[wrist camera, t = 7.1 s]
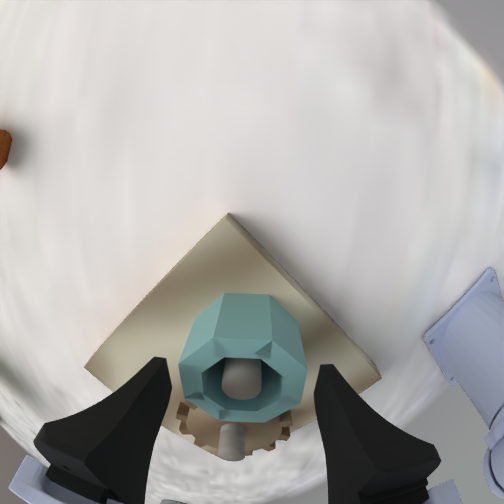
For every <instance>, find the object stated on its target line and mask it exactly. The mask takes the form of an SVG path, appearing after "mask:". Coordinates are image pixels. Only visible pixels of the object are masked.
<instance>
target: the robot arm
mask: <svg viewBox="0 0 504 504" xmlns="http://www.w3.org/2000/svg"><path fill="white" fill-rule="evenodd" d="M423 340H424V342H425V343H426V345H427V346H428V348H429V350H430V351H431V353H432V355H433V356H434V358H435V360H436V362H437V363H438V365H439V367H440V368H441V370H442V372H443V374H444V376H445V377H446V379H447V381H448V383H449V384H450V386H454V385H455V384H456V383H459V384H460V386H461V387H462V389H463V390H464V392H465V393H466V394H467V396H468V397H469V398H470V400H471V402H472V403H473V405H474V406H475V408H476V409H477V411H478V412H479V414H480V415H481V417H482V419H483V420H484V422H485V423H486V425H487V426H488V428H489V430H490V431H489V433H488V434H487V436H486V437H485V438H484V439H485V441H486V443H487V445H488V449H487V451H486V454H485V457H484V465H483V469H484V475H485V480H486V482H487V484H488V486H489V488H490V490H491V491H492V492H493V493H494V494H495V495H496V496H497V497H499V498H501V499H504V300H503V299H502V297H501V293H500V288H499V284H498V280H497V277H496V273H495V270H494V269H493V268H491V267H490V268H488V269H487V270H486V271H485V273H484V274H483V275H482V276H481V277H480V278H479V280H478V281H477V282H476V283H475V284H474V285H473V286H472V287H471V289H470V290H469V291H468V292H467V293H466V294H465V295H464V296H463V297H462V298H461V299H460V300H459V301H458V302H457V303H456V304H455V305H454V306H453V307H452V308H451V309H450V310H449V311H448V312H447V313H446V314H445V315H444V316H443V317H442V318H441V319H440V320H439V321H438V322H437V323H436V324H435V325H434V326H433V327H432V328H430V329H429V330H428V331H427V332H426V333H425V335H424V337H423ZM171 392H172V383H171V379H170V374H169V369H168V364H167V359H166V358H162V357H155V356H154V357H153V358H152V359H151V360H150V361H149V362H148V363H147V364H146V365H145V366H144V367H143V368H141V369H140V370H139V371H138V372H137V373H136V374H135V375H134V376H133V377H132V378H130V379H129V380H128V381H127V382H126V383H125V384H124V385H122V386H121V387H120V388H118V389H117V390H116V391H115V392H113V393H112V394H111V395H109V396H108V397H106V398H105V399H103V400H102V401H100V402H98V403H97V404H95V405H93V406H91V407H89V408H87V409H85V410H83V411H81V412H79V413H76V414H74V415H71V416H68V417H66V418H63V419H59V420H56V421H52V422H48V423H45V424H44V425H43V427H42V428H41V430H40V431H39V433H38V434H37V436H36V438H35V439H34V442H33V443H34V445H35V447H36V448H37V450H38V451H39V452H40V453H41V454H42V455H43V456H44V458H45V459H46V460H47V461H48V462H49V463H50V464H51V465H50V467H49V468H48V467H46V466H45V465H43V464H42V463H40V462H38V461H37V460H35V459H33V458H32V457H30V456H28V455H26V457H25V459H24V460H23V462H22V464H21V466H20V467H19V469H18V471H17V473H16V475H15V476H14V478H13V480H12V482H11V484H10V486H9V489H10V490H11V491H12V492H14V493H15V494H16V495H18V496H19V497H20V498H22V499H23V500H24V501H26V502H27V503H28V504H144V503H145V492H146V484H147V477H148V471H149V466H150V460H151V456H152V451H153V447H154V443H155V440H156V437H157V435H158V432H159V429H160V426H161V424H162V421H163V418H164V416H165V413H166V410H167V408H168V405H169V401H170V396H171ZM313 394H314V404H315V412H316V416H317V420H318V425H319V429H320V433H321V437H322V441H323V445H324V450H325V457H326V466H327V479H328V504H463V503H462V500H461V498H460V495H459V493H458V490H457V488H456V486H455V483H454V481H453V480H452V479H450V480H448V481H446V482H444V483H442V484H439V485H437V486H435V487H433V488H431V489H429V490H428V491H427V489H426V486H427V485H428V481H427V477H428V476H429V475H430V474H431V473H432V472H433V471H434V470H435V469H436V468H437V467H438V466H439V464H440V462H441V459H440V457H439V454H438V452H437V450H436V448H435V446H434V445H433V444H430V443H428V442H425V441H422V440H420V439H418V438H416V437H414V436H412V435H410V434H408V433H406V432H404V431H402V430H401V429H399V428H397V427H396V426H394V425H393V424H391V423H390V422H388V421H387V420H386V419H384V418H383V417H382V416H380V415H379V414H378V413H377V412H375V411H374V410H373V409H372V408H371V407H370V406H369V405H368V404H367V403H366V402H365V401H364V400H363V399H362V398H361V397H360V396H359V395H358V394H357V393H356V392H355V390H354V389H353V388H352V387H351V386H350V385H349V383H348V382H347V381H346V380H345V379H344V377H343V376H342V375H341V373H340V372H339V371H338V370H337V368H336V367H335V366H334V365H333V364H321V365H320V368H319V373H318V377H317V381H316V385H315V389H314V393H313Z"/></svg>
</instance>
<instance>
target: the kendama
mask: <svg viewBox="0 0 504 504" xmlns="http://www.w3.org/2000/svg"><path fill="white" fill-rule="evenodd" d="M11 142H12V138H11V135H10V133H8V132H7V131H6V130H0V170H1V169H2V167H3V166H4V165H5V164H6V162H7V158H8V154H9V150H10V146H11Z"/></svg>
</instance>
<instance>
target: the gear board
mask: <svg viewBox="0 0 504 504" xmlns="http://www.w3.org/2000/svg"><path fill="white" fill-rule="evenodd" d="M223 293H244V294H269V295H270V296H271V297H272V298H273V299H275V300H276V301H277V302H278V303H279V304H280V305H281V306H282V307H283V308H284V309H285V310H286V311H287V312H288V313H289V314H290V315H291V316H292V317H293V318H294V319H295V320H296V321H297V322H298V327H299V331H300V336H301V340H302V345H303V350H304V354H305V359H306V364H307V369H308V371H307V376H306V381H305V385H304V390H303V395H302V399H301V403H300V404H298V405H297V406H295V407H293V408H291V409H290V410H288V411H286V412H284V413H282V414H280V415H278V416H276V417H274V418H272V419H271V420H269V421H267V422H265V423H262V422H235V421H221V420H218V419H216V418H215V417H213V416H211V415H210V414H208V413H207V412H205V411H203V410H202V409H200V408H199V407H197V406H196V405H194V404H193V403H191V402H190V401H188V400H187V399H185V398H184V394H183V389H182V383H181V378H180V373H179V367H178V363H179V360H180V357H181V354H182V352H183V349H184V346H185V344H186V341H187V338H188V336H189V333H190V331H191V328H192V325H193V323H194V320H195V318H196V317H197V316H198V315H199V314H200V313H201V312H202V311H204V310H205V309H206V308H207V307H208V306H209V305H211V304H212V303H213V302H214V301H215V300H216V299H218V298H219V297H220V296H221V295H222V294H223ZM154 356H155V357H162V358H166V359H167V364H168V369H169V374H170V379H171V383H172V392H171V396H170V401H169V405H168V408H167V410H166V413H165V416H164V418H163V421H162V424H161V426H163V427H165V428H166V429H168V430H170V431H171V432H173V433H175V434H176V435H178V436H180V437H182V438H183V439H185V440H187V441H189V442H190V443H192V444H194V445H196V446H198V447H200V448H202V449H204V450H206V451H208V452H210V453H212V454H214V455H216V456H218V457H220V458H221V459H223V460H227V461H240V460H242V459H244V458H245V456H248V455H252V451H253V450H258V449H265V450H267V451H271V450H273V449H275V441H276V440H285V441H287V440H288V438H289V437H290V433H291V432H293V431H295V430H297V429H299V428H301V427H303V426H305V425H307V424H309V423H310V422H312V421H314V420H316V419H317V416H316V412H315V404H314V394H313V393H314V389H315V385H316V381H317V377H318V373H319V368H320V365H321V364H333V365H334V366H335V367H336V368H337V370H338V371H339V372H340V373H341V375H342V376H343V377H344V379H345V380H346V381H347V382H348V383H349V385H350V386H351V387H352V388H353V389H354V390H355V392H356V393H357V394H360V393H361V392H363V391H364V390H366V389H367V388H369V387H370V386H371V385H373V384H374V383H376V382H377V381H379V380H380V379H381V378H382V377H381V375H380V373H379V371H378V369H377V367H376V365H375V364H374V363H373V362H372V361H371V360H370V359H369V358H368V357H367V356H366V355H365V353H364V352H363V351H362V350H361V349H360V348H359V347H358V346H357V345H356V344H355V343H354V342H353V341H352V340H351V339H350V338H349V337H348V336H347V334H346V333H345V332H344V331H343V330H342V329H341V328H340V327H339V326H338V325H337V324H336V323H335V322H334V321H333V320H332V319H331V318H330V317H329V316H328V315H327V314H326V313H325V311H324V310H323V309H322V308H321V307H320V306H319V305H318V304H317V303H316V302H315V301H314V300H313V299H312V298H311V297H310V296H309V295H308V294H307V293H306V292H305V291H304V290H303V289H302V288H301V287H300V286H299V285H298V283H297V282H296V281H295V280H294V279H293V278H292V277H291V276H290V275H289V274H288V273H287V272H286V271H285V270H284V269H283V268H282V267H281V266H280V265H279V264H278V263H277V262H276V261H275V260H274V259H273V258H272V257H271V256H270V255H269V254H268V253H267V252H266V251H265V250H264V249H263V247H262V246H261V245H260V244H259V243H258V242H257V241H256V240H255V239H254V238H253V237H252V236H251V235H250V234H249V233H248V232H247V231H246V230H245V229H244V228H243V227H242V226H241V225H240V224H239V223H238V222H237V221H236V220H235V219H234V218H233V217H232V216H231V215H230V214H229V213H228V214H227V215H226V216H225V217H224V218H222V219H221V220H220V221H219V222H218V223H217V224H216V225H215V226H214V227H213V228H212V229H211V230H210V231H209V232H208V233H207V234H206V235H205V236H204V237H203V238H202V239H201V240H200V241H199V242H198V243H197V244H196V245H195V246H194V247H193V248H192V249H191V250H190V251H189V252H188V253H187V254H186V255H185V256H184V257H183V258H182V259H181V260H180V261H179V262H178V263H177V264H176V265H175V266H174V267H173V268H172V269H171V270H170V271H169V273H168V274H167V275H166V276H165V277H164V278H163V279H162V280H161V281H160V282H159V283H158V284H157V285H156V286H155V287H154V288H153V289H152V290H151V291H150V292H149V294H148V295H147V296H146V297H145V298H144V299H143V300H142V301H141V302H140V303H139V304H138V305H137V306H136V307H135V309H134V310H133V311H132V312H131V313H130V314H129V315H128V316H127V317H126V318H125V319H124V321H123V322H122V323H121V324H120V325H119V326H118V327H117V328H116V329H115V331H114V332H113V333H112V334H111V335H110V336H109V337H108V338H107V340H106V341H105V342H104V343H103V344H102V345H101V346H100V348H99V349H98V350H97V351H96V352H95V353H94V354H93V356H92V357H91V358H90V360H89V361H88V362H87V364H86V365H85V366H84V368H85V369H86V370H88V371H89V372H90V373H91V374H92V375H93V376H95V377H96V378H97V379H98V380H99V381H101V382H102V383H103V384H104V385H105V386H107V387H108V388H109V389H110V390H112V391H113V392H115V391H116V390H117V389H118V388H120V387H121V386H122V385H124V384H125V383H126V382H127V381H128V380H129V379H130V378H132V377H133V376H134V375H135V374H136V373H137V372H138V371H139V370H140V369H141V368H143V367H144V366H145V365H146V364H147V363H148V362H149V361H150V360H151V359H152V358H153V357H154ZM261 388H262V373H261V359H252V358H230V357H226V360H225V366H224V372H223V379H222V390H223V392H224V393H225V394H226V395H228V396H229V397H231V398H234V399H238V400H247V399H251V398H254V397H256V396H257V395H258V394H259V393H260V392H261Z"/></svg>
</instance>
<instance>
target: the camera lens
mask: <svg viewBox="0 0 504 504" xmlns="http://www.w3.org/2000/svg"><path fill="white" fill-rule="evenodd" d="M161 504H185V503H181V502H177V501H172V500H162V501H161Z"/></svg>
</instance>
